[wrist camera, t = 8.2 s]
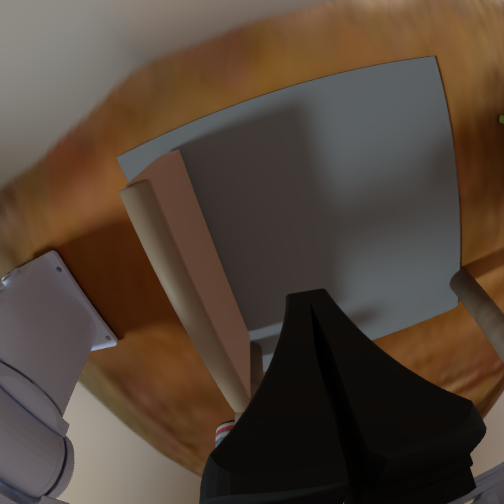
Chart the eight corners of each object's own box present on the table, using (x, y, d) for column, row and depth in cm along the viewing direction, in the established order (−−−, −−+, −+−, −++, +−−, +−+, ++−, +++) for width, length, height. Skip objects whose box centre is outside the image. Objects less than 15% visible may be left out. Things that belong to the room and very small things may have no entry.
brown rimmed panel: (249, 336, 23) (250, 411, 17) (234, 339, 23) (231, 413, 17) (179, 149, 16) (141, 185, 11) (159, 156, 16) (114, 196, 11)
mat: (118, 156, 17) (116, 157, 17) (432, 56, 14) (434, 56, 14) (240, 374, 26) (239, 377, 26) (455, 304, 23) (457, 306, 23)
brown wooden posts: (232, 342, 24) (228, 443, 17) (467, 264, 21) (529, 337, 13) (242, 358, 25) (241, 455, 17) (466, 283, 22) (522, 357, 14)
